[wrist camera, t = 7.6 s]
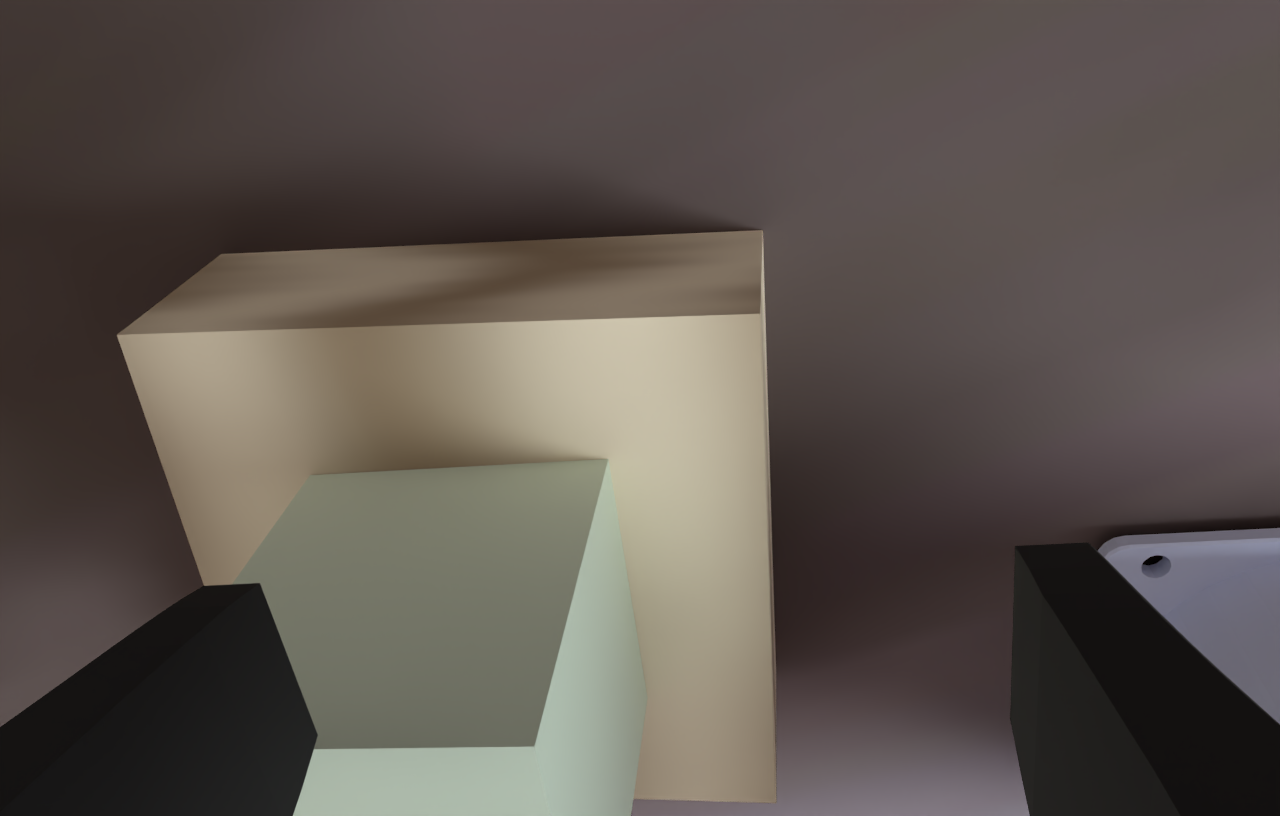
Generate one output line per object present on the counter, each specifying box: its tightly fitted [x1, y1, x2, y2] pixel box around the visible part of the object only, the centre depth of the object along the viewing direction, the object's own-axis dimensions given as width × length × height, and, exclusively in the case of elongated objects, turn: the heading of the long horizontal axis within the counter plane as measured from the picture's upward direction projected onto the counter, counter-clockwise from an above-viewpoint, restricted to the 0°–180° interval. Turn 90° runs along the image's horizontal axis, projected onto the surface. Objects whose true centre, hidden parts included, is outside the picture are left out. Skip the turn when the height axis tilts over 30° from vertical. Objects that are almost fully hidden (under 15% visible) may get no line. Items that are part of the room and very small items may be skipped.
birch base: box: [117, 230, 776, 803], centre depth 20 cm, size 10×10×4 cm
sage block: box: [233, 459, 648, 816], centre depth 16 cm, size 5×5×6 cm
